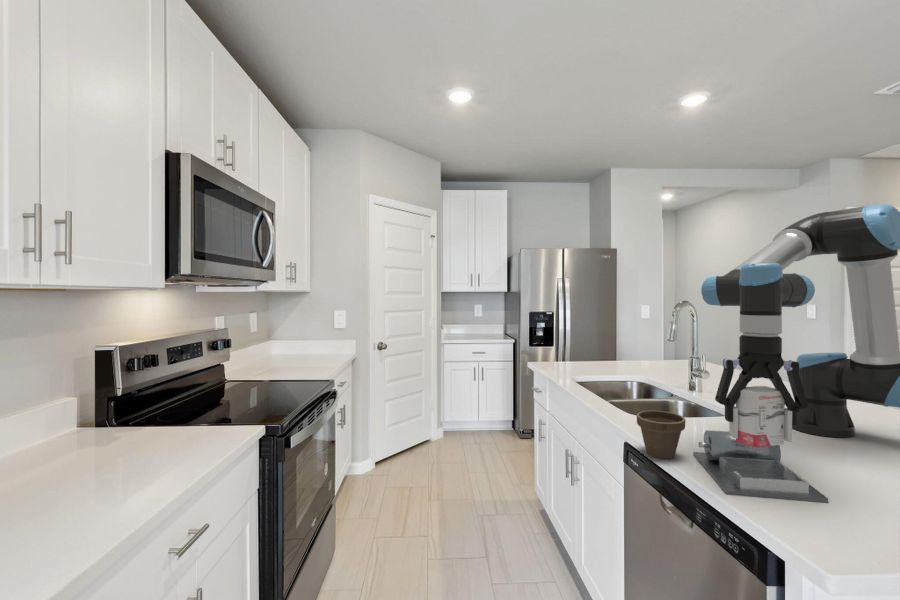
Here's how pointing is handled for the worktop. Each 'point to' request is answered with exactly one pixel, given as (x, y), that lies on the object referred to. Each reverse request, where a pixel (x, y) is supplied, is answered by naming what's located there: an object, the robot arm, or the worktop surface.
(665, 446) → the flower pot
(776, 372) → the robot arm
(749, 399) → the ink box
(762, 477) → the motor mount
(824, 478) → the worktop surface
